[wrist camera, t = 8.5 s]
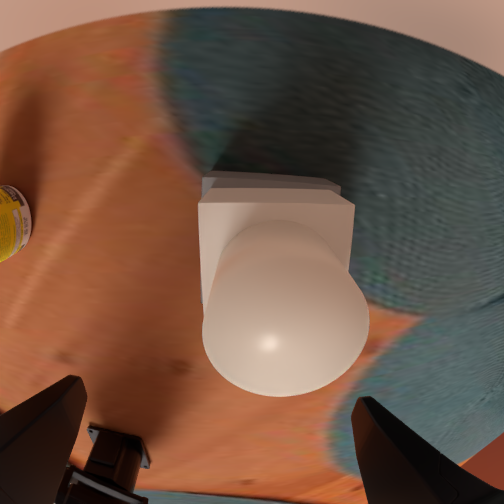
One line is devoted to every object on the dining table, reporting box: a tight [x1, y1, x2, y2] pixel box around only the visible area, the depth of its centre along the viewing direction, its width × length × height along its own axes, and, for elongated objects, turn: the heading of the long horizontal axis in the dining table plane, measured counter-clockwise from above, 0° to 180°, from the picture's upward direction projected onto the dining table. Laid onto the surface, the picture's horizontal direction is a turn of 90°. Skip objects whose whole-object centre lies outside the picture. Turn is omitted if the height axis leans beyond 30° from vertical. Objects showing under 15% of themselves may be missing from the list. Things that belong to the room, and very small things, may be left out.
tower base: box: [201, 171, 341, 303], centre depth 18 cm, size 7×7×4 cm
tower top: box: [198, 188, 355, 315], centre depth 15 cm, size 6×6×4 cm
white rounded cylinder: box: [202, 220, 370, 397], centre depth 11 cm, size 5×5×4 cm
